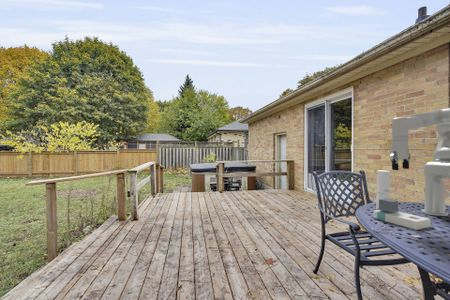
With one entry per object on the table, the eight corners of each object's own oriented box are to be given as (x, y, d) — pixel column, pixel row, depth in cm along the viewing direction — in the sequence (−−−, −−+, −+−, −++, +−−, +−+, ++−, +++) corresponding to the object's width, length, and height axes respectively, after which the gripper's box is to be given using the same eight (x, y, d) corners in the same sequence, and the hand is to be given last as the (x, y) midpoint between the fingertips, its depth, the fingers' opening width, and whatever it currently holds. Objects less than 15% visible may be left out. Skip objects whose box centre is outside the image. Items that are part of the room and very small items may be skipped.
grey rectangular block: (385, 216, 144) (385, 198, 144) (397, 219, 137) (398, 201, 137) (378, 217, 141) (378, 199, 141) (391, 221, 135) (391, 201, 135)
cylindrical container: (391, 211, 156) (392, 171, 155) (378, 210, 157) (379, 171, 157) (386, 208, 163) (387, 170, 162) (374, 207, 164) (375, 170, 164)
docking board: (373, 217, 141) (373, 210, 141) (386, 215, 146) (386, 208, 146) (416, 229, 121) (416, 221, 121) (430, 226, 126) (430, 218, 126)
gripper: (402, 139, 147) (402, 167, 148) (383, 140, 140) (384, 170, 141) (416, 138, 140) (416, 168, 141) (397, 139, 133) (398, 171, 134)
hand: (400, 169), depth 141 cm, fingers open, 9 cm apart
